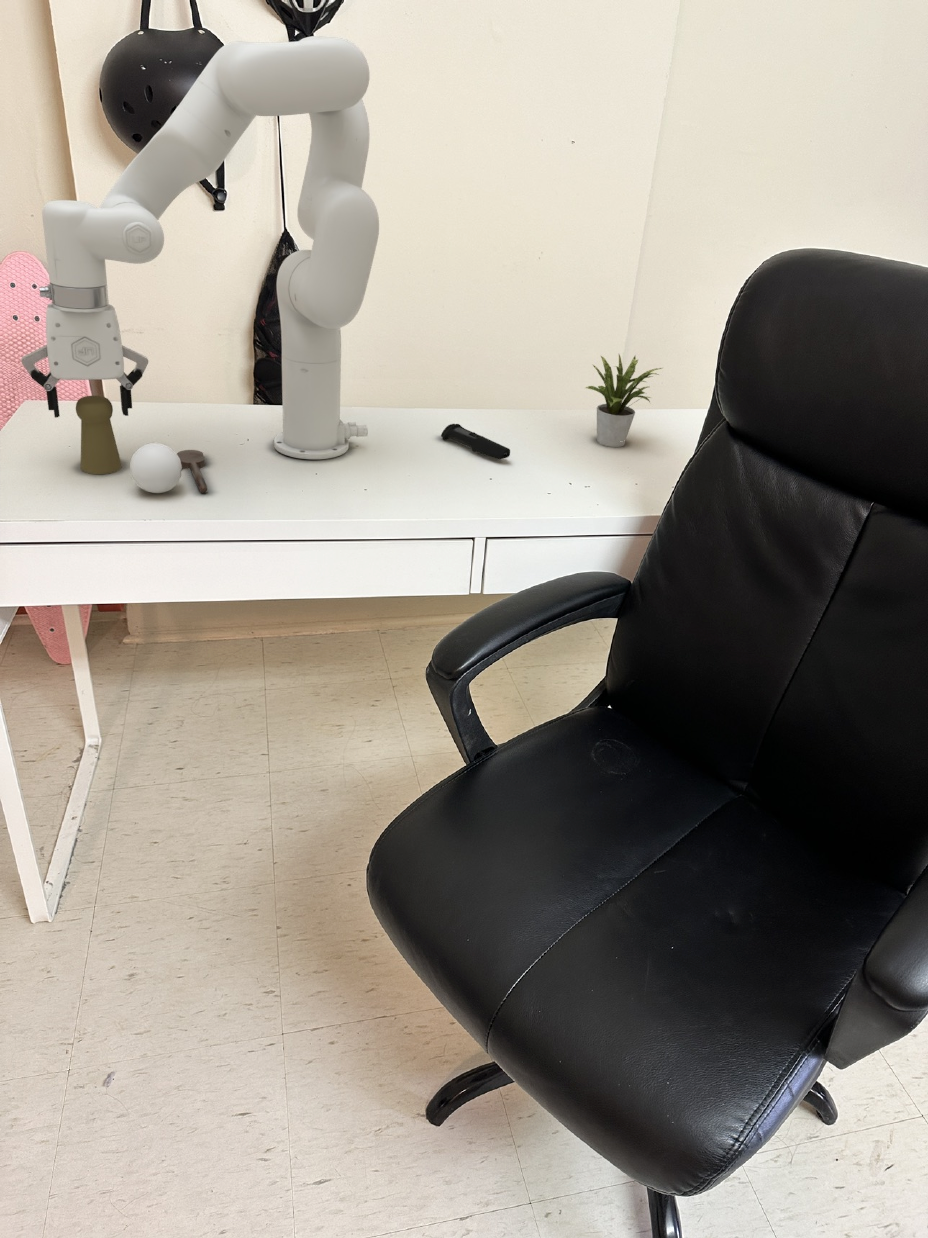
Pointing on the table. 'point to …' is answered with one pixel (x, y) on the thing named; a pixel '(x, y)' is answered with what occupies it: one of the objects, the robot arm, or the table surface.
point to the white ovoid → (155, 468)
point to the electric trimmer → (475, 442)
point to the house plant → (617, 403)
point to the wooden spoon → (194, 466)
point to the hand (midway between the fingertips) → (91, 413)
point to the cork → (97, 436)
